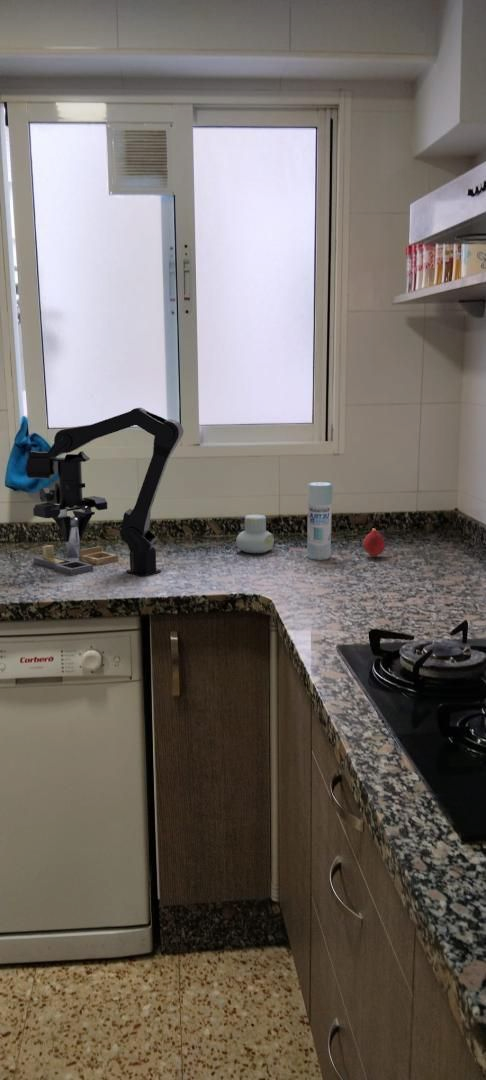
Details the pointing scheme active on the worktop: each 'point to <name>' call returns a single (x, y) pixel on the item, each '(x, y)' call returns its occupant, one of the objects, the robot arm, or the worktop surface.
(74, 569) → the socket block
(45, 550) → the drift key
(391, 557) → the worktop surface
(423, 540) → the worktop surface
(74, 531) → the salt shaker
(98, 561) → the wooden tray
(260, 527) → the air freshener
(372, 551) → the onion
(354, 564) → the worktop surface
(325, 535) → the spray paint can
